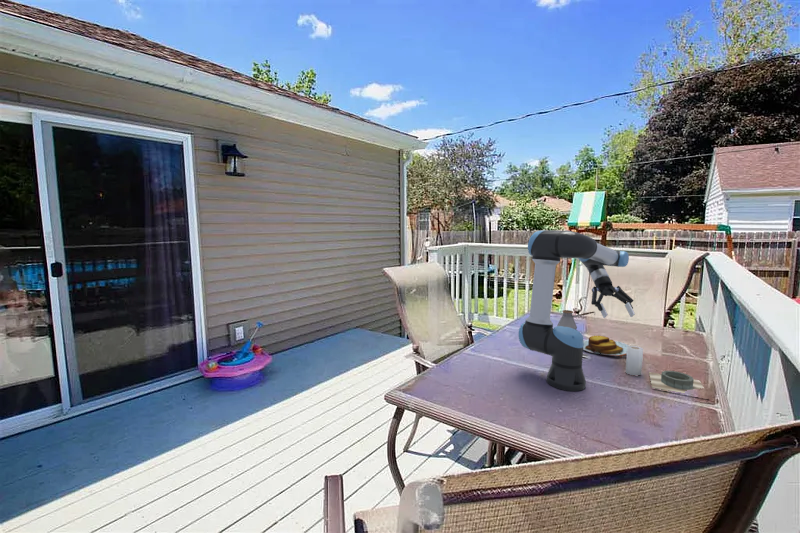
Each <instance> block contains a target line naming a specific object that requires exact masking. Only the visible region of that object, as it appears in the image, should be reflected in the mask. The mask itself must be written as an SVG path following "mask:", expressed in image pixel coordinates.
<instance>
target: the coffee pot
mask: <svg viewBox="0 0 800 533" xmlns="http://www.w3.org/2000/svg"><path fill="white" fill-rule="evenodd" d="M573 314H574V311H573V310H568V309H564V310H562V316H561V318H560V320H559V321H558V323H557V326H563V327H569V328H573V329H575V330H577V328H578V326H577V324H576V322H575V318H576V317H580V316H586V315H590V314H594V315H595V316H596V313H595V311H589V312H583V313H580V314H576V315H573Z"/></svg>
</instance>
